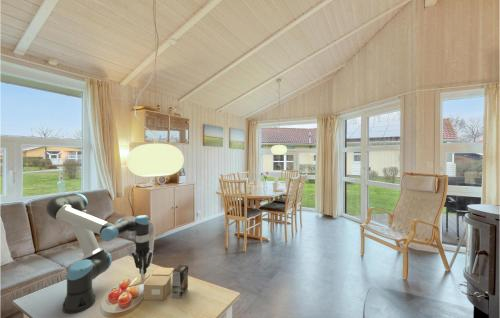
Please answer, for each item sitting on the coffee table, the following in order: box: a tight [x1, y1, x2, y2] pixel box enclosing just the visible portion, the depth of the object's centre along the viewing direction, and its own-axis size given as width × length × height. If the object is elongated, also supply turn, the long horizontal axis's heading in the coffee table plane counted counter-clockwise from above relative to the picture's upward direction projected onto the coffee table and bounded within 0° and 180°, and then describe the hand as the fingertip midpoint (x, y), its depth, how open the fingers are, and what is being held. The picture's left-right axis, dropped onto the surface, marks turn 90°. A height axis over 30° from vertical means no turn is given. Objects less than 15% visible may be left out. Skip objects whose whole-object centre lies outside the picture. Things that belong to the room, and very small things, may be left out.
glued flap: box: [127, 274, 151, 288], centre depth 141 cm, size 1×10×9 cm
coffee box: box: [171, 264, 189, 300], centre depth 142 cm, size 9×6×16 cm
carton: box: [143, 267, 175, 301], centre depth 146 cm, size 13×20×10 cm, turn 0°
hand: (143, 278), depth 141 cm, fingers closed
